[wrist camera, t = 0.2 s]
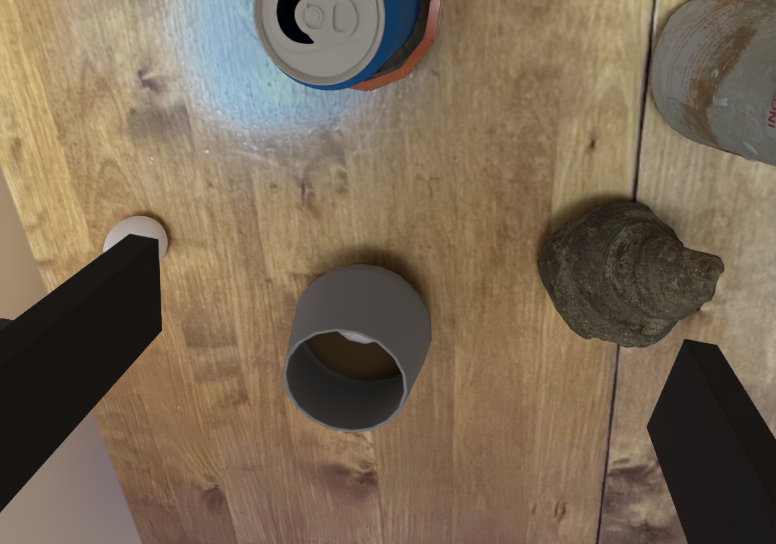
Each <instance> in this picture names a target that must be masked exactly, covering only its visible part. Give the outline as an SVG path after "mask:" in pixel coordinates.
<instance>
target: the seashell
mask: <svg viewBox="0 0 776 544" xmlns="http://www.w3.org/2000/svg"><path fill="white" fill-rule="evenodd" d="M538 267H539V271H540V276H541V279H542V282H543V284H544V286H545V288H546V290H547V291H548V294H549V296H550V298H551V300H552V302H553V304H554V306H555V308H556V309H557V311H558V312H559V314H560V315H561V316H562V318H563V319H564V321H565V322H566V323H567V324H568V326H569V327H570V329H571V330H573V331H574V332H575V333H577V334H578V335H579V336H581V337H582V338H585V339H591V338H592V337H593V338H599V339H601V340H603V341H606V340H607V341H610V342H614V343H618V344H619V345H620V346H623V347H626V348H628V347H634V346H636V347H638V348H641V347H647V346H650V345H652V344H655V343H656V342H658V341H659V340H661V339H662V338H663V337H665V336H666V335H667V334H668V333H669V332H670V331H671V329H672V328H673V327H674V325H675V324H676V323H677V322H678V320H682V319H684V318H686V317H687V316H689V315H690V314H691V313H692V312H693V311H694V310H695V309H698V308H699V307H701V306H702V305H703V304H704V303H705V302H708V301H711V299H712V297H713V296H714V294H715V288H716V283H717V280H718V278H719V276H720V273H722V272H724V264H723V262H722V260H721V258H720V257H718V256H716V255H712V254H708V253H704V252H700V251H695V250H692V249H689V248H686V247H684V246H683V243H682V242H681V241H680V240H679V238H678V237H677V235H676V234H675V232H674V230H673V229H671V228H670V227H669V226H668V225H666V224H664V223H662V221H661V220H659V219H658V218H657V217H656V215H655V214H654V213H653V212H652V211H651V209H650V208H649V207H648V206H645V205H642V204H639V203H634V202H613V203H608V204H605V205H599V206H597V207H596V208H595V209H594V210H592V211H590V212H589V213H587V214H586V215H582V216H581V217H579V218H578V219H576V220H574V221H572V222H569V223H566V224H565V225H564V226H563V227H561V228H560V229H559V230H558V231H557V232H556V233H554V234H553V235H552V236H551V238H550V240H549V241H547V242H546V243H544V245H543V247H542V249H541V253H540V259H539V261H538ZM503 349H504V348H503Z"/></svg>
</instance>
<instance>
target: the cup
mask: <svg viewBox="0 0 776 544" xmlns="http://www.w3.org/2000/svg"><path fill="white" fill-rule="evenodd" d="M431 340H432V337H431V324H430V315H429V312H428V310H427V308H426V306H425V304H424V302H423V300H422V298H421V296H420V294H419V293H418V292H417V291H416V290H415V289H414V288H413V287H412V286H411V285H410V284H409V283H408V282H407V281H406V280H404V279H403V278H402V277H401V276H400V275H398V274H396V273H394V272H392V271H390V270H388V269H386V268H384V267H381V266H374V265H367V264H354V265H348V266H343V267H338V268H333V269H332V270H330V271H328V272H327V273H325V274H324V275H322V276H320V277H319V278H317V279H315V280H314V281H313V282H312V283H311V284H310V286H309V287H308V288H307V290H306V291H305V292H304V294H303V295H302V297H301V298H300V299H299V301H298V304H297V308H296V313H295V317H294V322H293V327H292V331H291V336H290V341H289V346H288V350H287V355H286V360H285V364H284V369H283V378H284V383H285V388H286V392H287V393H288V395H289V397H290V398H291V400H292V401H293V403H294V405H295V406H296V408H297V409H299V410H300V411H301V412H302V413H303V414H305V415H306V416H307V417H308V418H309V419H311V420H312V421H313V422H316V423H318V424H320V425H322V426H325V427H327V428H329V429H331V430H337V431H344V432H350V433H355V432H363V431H371V430H374V429H376V428H378V427H380V426H382V425H385V424H387V423H389V422H390V421H391V420H392V419H393V418H394V417H395V416H396V415H397V414H398V413H399V412H400V410H401V409H402V408H403V405H404V403H405V401H406V399H407V397H408V395H409V393H410V391H411V388H412V386H413V384H414V382H415V380H416V378H417V376H418V374H419V371H420V369H421V367H422V365H423V363H424V360H425V358H426V355H427V352H428V349H429V346H430V343H431Z"/></svg>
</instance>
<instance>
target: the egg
mask: <svg viewBox="0 0 776 544" xmlns="http://www.w3.org/2000/svg"><path fill="white" fill-rule="evenodd" d="M128 234H134V235H140V236H145V237H150V238H155V239H159V262H160V261H161V260H162V258H163V257H164V255H165V253H166V251H167V246H168V240H167V235H166V232H165V230H164V228H163V227H162V226H161V224H160V223H159V222H157V221H156V220H154V219H152V218H150V217H146V216H133V217H129V218H126V219H124V220H122V221H120V222H119V223H117V224H116V225H115V226H114V227H113V228H112V229H111V231H110V232H109V234H108V236H107V238H106V240H105V243H104V248H103V253H104V252H106V251H107V250H108V249H110V248H111V247H112V246H114V245H115V244H116V243H118V242H119V241H120V240H122V239H123V238H124V237H126V236H127V235H128Z"/></svg>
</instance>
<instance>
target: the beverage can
mask: <svg viewBox="0 0 776 544" xmlns="http://www.w3.org/2000/svg"><path fill="white" fill-rule="evenodd" d="M419 8H420V0H253V17H254V24H255V29H256V32H257V35H258V38H259V40H260V42H261V44H262V47H263V48H264V50H265V52H266V53H267V55H268V56H269V57H270V59H271V60H272V61H273V62H274V64H275V65H276V66H277V67H278V68H279V69H280V70H281V71H282V72H283V73H285V74H286V75H287V76H288V77H290V78H292V79H293V80H295V81H296V82H298V83H301V84H303V85H305V86H308V87H311V88H314V89H320V90H341V89H345V88H349V87H352V86H354V85H357V84H359V83H361V82H363V81H364V80H366V79H367V78H369V77H370V76H371V75H373V74H374V73H375V72H376V71H377V70H378V69H379V68H380V67H381V66H382V65H383V64H384V63H385V62H386V61H387V60H388V59H389V58H390V57H391V56H392V55H394V54H395V53H396V52H397V51H398V50H399V49H400V48H401V47H402V46H403V45H404V44H405V42H406V41H407V40H408V38H409V37H410V35H411V34H412V32H413V30H414V28H415V25H416V23H417V19H418V15H419Z"/></svg>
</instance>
